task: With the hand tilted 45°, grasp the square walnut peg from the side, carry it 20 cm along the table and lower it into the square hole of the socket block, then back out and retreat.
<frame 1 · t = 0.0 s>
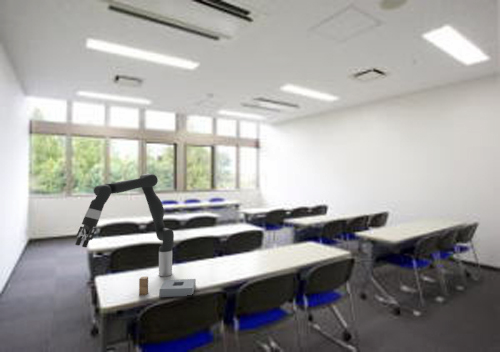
hand: (80, 246, 149), 31 cm above the table, fingers open, 8 cm apart
walnut peg: (143, 293, 160), on the table
dock socket: (178, 291, 164), on the table
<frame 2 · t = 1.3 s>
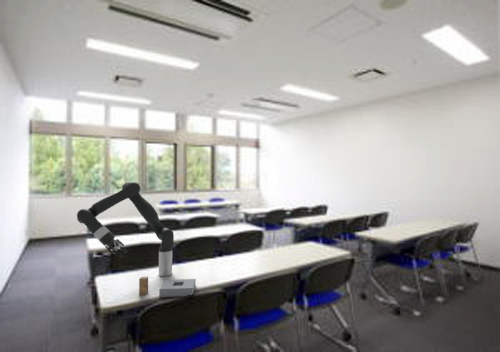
hand: (123, 254, 160), 24 cm above the table, fingers open, 8 cm apart
nothing on the table moved.
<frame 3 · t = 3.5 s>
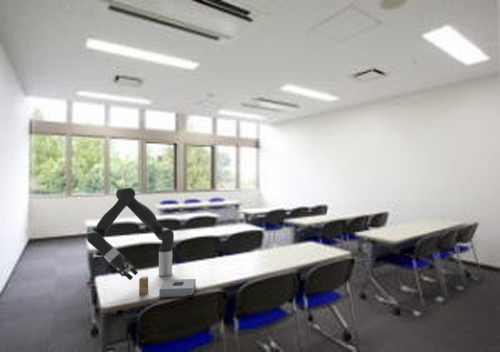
hand: (134, 276, 160), 10 cm above the table, fingers open, 8 cm apart
nothing on the table moved.
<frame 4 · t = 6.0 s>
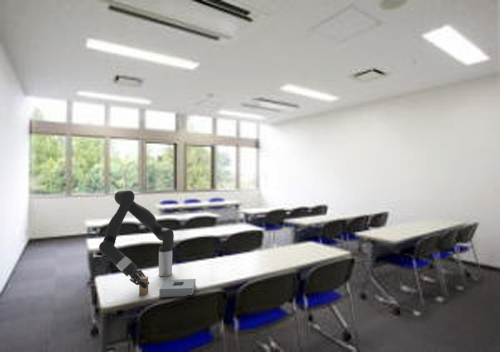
hand: (147, 285, 160), 5 cm above the table, fingers closed on walnut peg, 4 cm apart
walnut peg: (143, 293, 160), on the table, touching gripper
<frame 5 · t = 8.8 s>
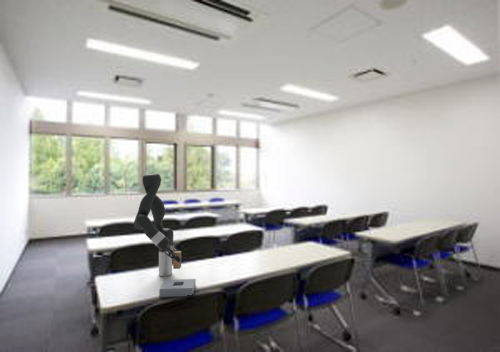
hand: (180, 260, 164), 19 cm above the table, fingers closed on walnut peg, 4 cm apart
walnut peg: (177, 267, 164), point 14 cm above the table, touching gripper
when the fingers open (7 cm above the table, at t = 12.1 s): walnut peg drops 1 cm, resting on dock socket.
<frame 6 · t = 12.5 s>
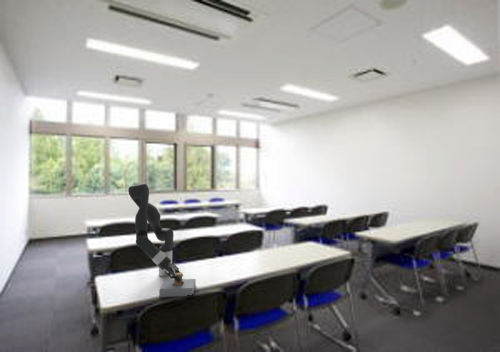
hand: (180, 278, 164), 7 cm above the table, fingers open, 7 cm apart
walnut peg: (178, 289, 164), point 1 cm above the table, touching dock socket
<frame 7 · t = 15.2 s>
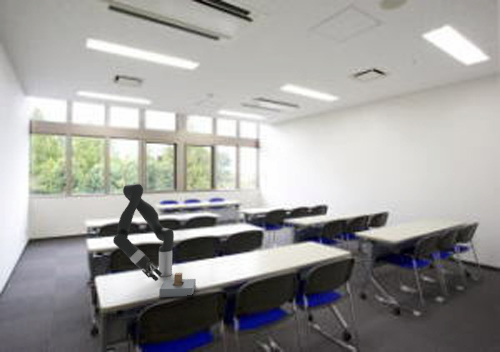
hand: (159, 277, 163), 9 cm above the table, fingers open, 8 cm apart
nothing on the table moved.
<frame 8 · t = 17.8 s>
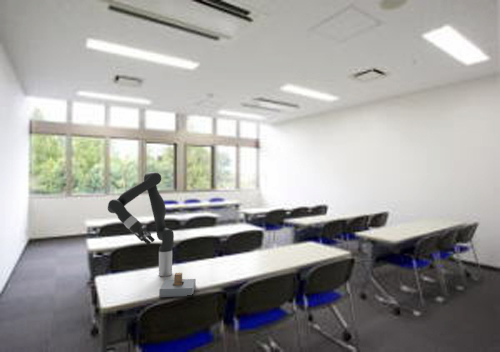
hand: (151, 242, 169), 29 cm above the table, fingers open, 8 cm apart
nothing on the table moved.
at the end: walnut peg 0.0 cm off-centre on the dock socket, point 1.0 cm above the dock socket's base; walnut peg tilted 0°; the gripper is holding nothing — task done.
